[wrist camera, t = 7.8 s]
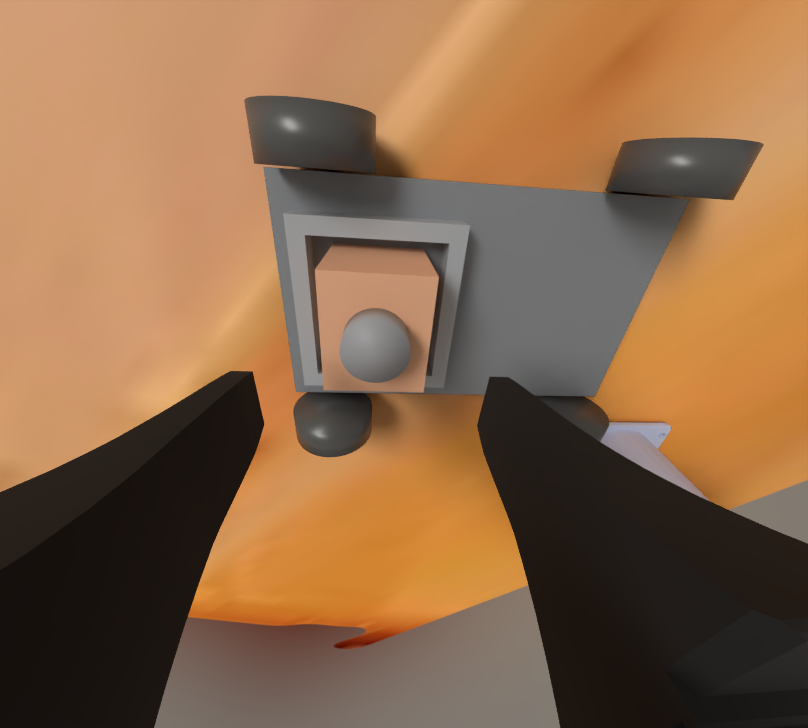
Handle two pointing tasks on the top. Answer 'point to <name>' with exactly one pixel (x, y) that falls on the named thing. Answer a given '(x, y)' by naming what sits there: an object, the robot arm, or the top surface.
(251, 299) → the top surface
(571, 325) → the chassis
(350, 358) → the block
